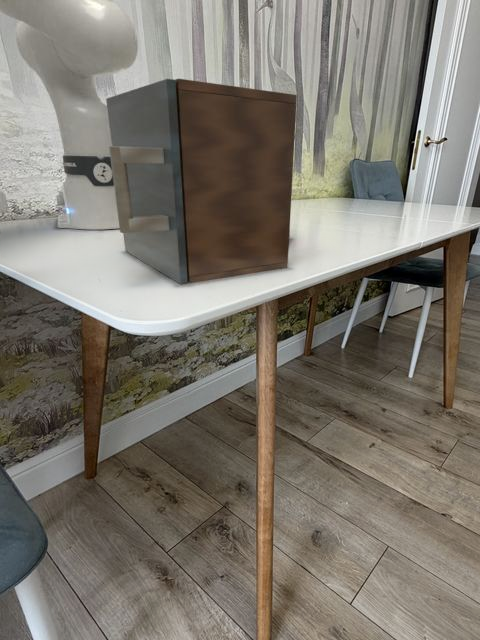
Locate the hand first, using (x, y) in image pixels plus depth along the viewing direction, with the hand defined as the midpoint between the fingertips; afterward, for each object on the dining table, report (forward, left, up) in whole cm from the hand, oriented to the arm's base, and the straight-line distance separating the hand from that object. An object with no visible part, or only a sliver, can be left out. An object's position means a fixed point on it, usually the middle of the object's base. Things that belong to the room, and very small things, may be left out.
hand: (1, 195), depth 38 cm
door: (-8, +14, -11) cm, 20 cm away
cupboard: (-8, +26, -11) cm, 29 cm away
